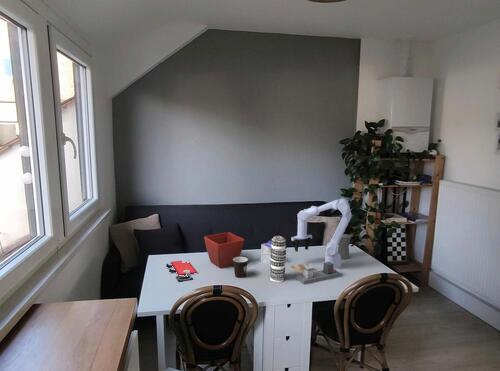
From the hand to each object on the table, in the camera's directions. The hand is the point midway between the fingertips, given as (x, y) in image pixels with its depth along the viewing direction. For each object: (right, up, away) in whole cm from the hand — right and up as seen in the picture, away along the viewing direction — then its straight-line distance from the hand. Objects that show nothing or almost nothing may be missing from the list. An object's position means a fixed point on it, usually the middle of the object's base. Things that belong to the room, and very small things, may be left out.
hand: (301, 250), depth 217 cm
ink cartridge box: (-21, -9, +2) cm, 23 cm away
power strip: (+7, -13, -19) cm, 24 cm away
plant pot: (-49, -9, +2) cm, 50 cm away
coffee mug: (-37, -12, -16) cm, 42 cm away
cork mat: (0, -10, -6) cm, 12 cm away
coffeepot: (+32, -8, +16) cm, 36 cm away
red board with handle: (-74, -11, -11) cm, 75 cm away
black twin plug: (+13, -12, -16) cm, 24 cm away
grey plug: (0, -13, -22) cm, 26 cm away
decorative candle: (-17, -13, -21) cm, 30 cm away
